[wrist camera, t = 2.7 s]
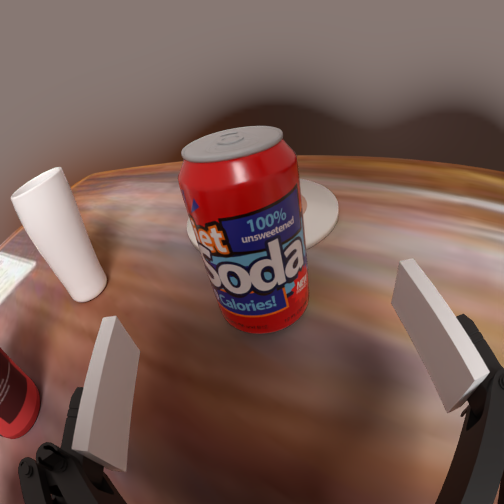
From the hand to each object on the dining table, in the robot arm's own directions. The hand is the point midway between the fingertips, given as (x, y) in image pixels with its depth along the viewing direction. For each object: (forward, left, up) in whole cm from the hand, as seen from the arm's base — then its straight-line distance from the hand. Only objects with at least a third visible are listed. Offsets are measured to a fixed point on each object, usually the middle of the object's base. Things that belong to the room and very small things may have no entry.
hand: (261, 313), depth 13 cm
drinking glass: (+25, -10, -10) cm, 29 cm away
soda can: (+3, -9, -10) cm, 14 cm away
